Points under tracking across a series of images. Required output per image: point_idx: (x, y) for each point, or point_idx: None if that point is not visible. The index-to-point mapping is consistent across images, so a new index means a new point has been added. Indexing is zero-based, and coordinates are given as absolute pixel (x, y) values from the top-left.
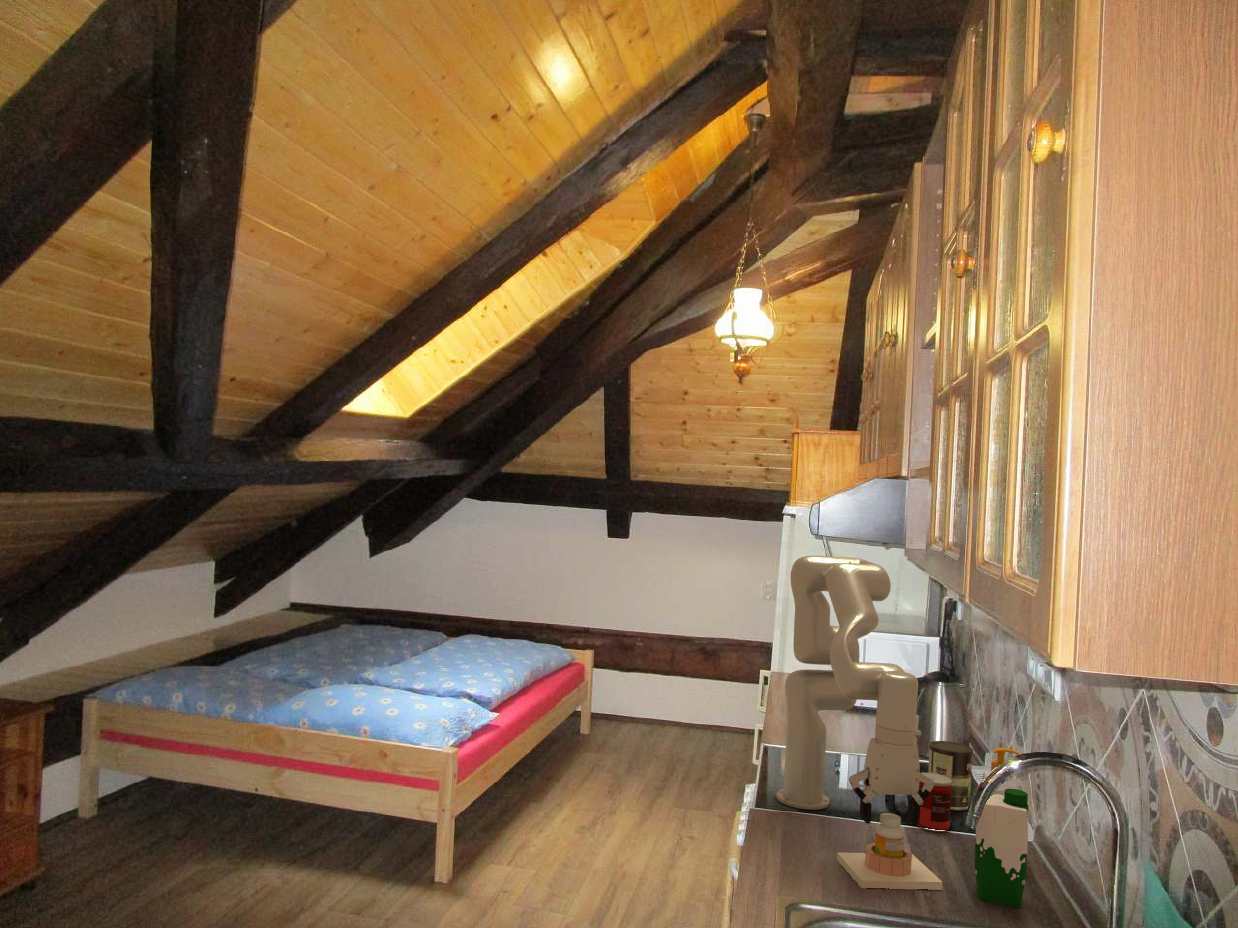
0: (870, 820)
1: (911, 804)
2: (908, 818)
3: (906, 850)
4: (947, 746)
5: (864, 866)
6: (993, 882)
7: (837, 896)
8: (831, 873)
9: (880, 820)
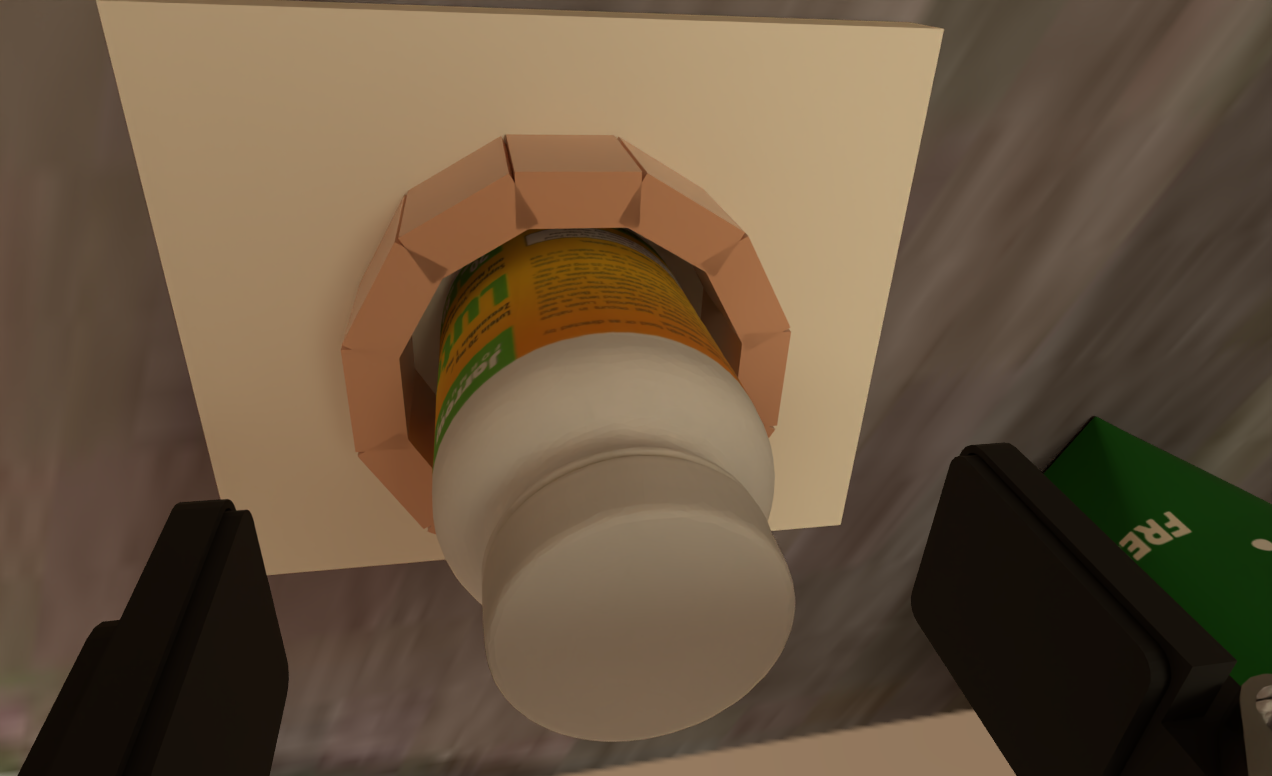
0: (281, 709)
1: (1087, 721)
2: (955, 485)
3: (768, 353)
4: None
5: (337, 341)
6: None
7: (45, 659)
8: (30, 321)
9: (483, 594)
